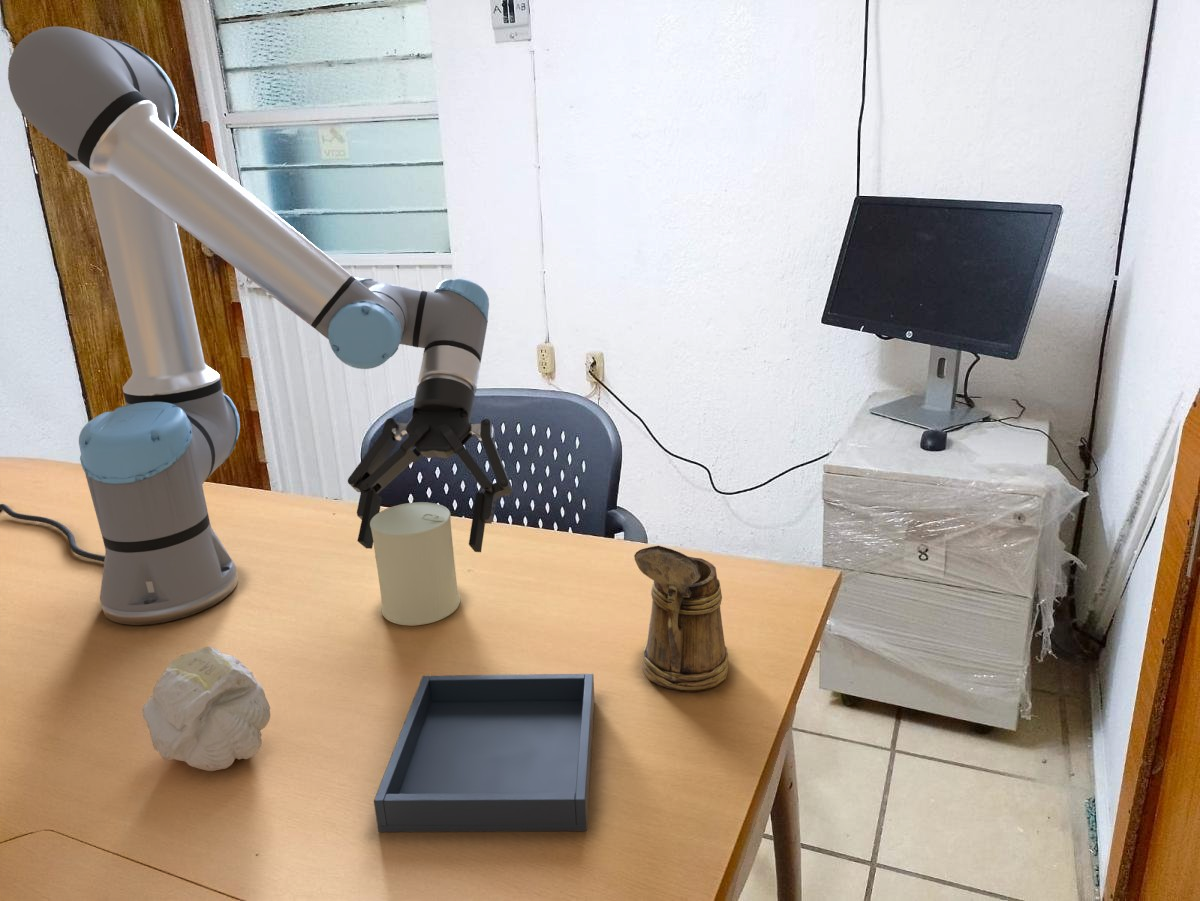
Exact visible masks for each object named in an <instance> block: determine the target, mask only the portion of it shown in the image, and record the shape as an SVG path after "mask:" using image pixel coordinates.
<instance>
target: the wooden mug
mask: <svg viewBox="0 0 1200 901" xmlns="http://www.w3.org/2000/svg"><path fill="white" fill-rule="evenodd" d="M633 557H634V561H635V564H636V566H637V567H638V569H639V572H641V573H642V574H643V575H645V576H646V577H648V578H649V579H650V580H652V587H651V594H650V595H651V599H652V602H651V610H650V611H651V613H650V618H649V626H648V634H647V642H646V644H645V646H644V647H643V656H642V670H643V673H644V675H645V677H647V679H648V680H649V681H651V682H653V683H655V684H656V685H658V686H661V687H663V688H665V689H668V690H672V691H673V690H674V691H678V692H682V693H683V692H685V693H686V692H687V693H688V692H689V693H691V692H692V693H693V692H694V693H695V692H701V691H702V692H703V691H706V690H710V689H713V688H716V687H717V686H718V685H720V684H721V683H722V682H723V681H725V680H726V679H727V676H728V672H729V653H728V647H727V646H726V642H725V635H724V628H723V619H722V613H721V604H722V601H723V594H722V589H721V582H720V579H719V578H718V575H717V567H716V566H715V565H714V564H713V563H711V562H709V561H708V560H705V559H704V558H701V557H693V556H688V555H686V554H684V553H683V552H680V551H677V550H674V549H672V548H668V547H666V546H661V545H655V546H654V545H653V546H650V547H644V548H640V549H639V550H637V551H636V552H635V553H634V556H633Z"/></svg>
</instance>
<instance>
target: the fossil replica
mask: <svg viewBox="0 0 1200 901" xmlns="http://www.w3.org/2000/svg"><path fill="white" fill-rule="evenodd" d="M141 710H142V717H143V720H144V721H145V723H146V725H147V728H148V731H149V735H150V740H151V744H152V747H153V749H154V750H155V751H156V752H157V753H159V755H160V756H161V757H162V759H164V760H165V761H168V760H169V761H171V760H176V761H180V762H181V761H182V762H184V763H186V764H187V765H188V766H190V767H192V768H196V769H197V770H203V771H207V772H209V771H210V772H215V771H220V770H225V769H228V768H229V767H230V766H232V765H233V763H234V762H235V760H236V759H237V760H241V759H243V760H248V759H250V758H252V757H253V756H255V755H256V754H257V753H258V752H259V751H260V749H261V746H262V735H263V734H262V733H261V731H262V730H263V729H265V728H266V727H267V725H268V724H269V722H270V719H271V706H270V704H269V701H268V699H267V696H266V692H265V690H264V688H263V685H262V684H260V683H259V681H258V680H257V679H256V678H255V677H254V673H253V672H252V671H251V670H250V669H249V668H248V667H247V666H246V665H245V664H244V663H243V662H242V661H240V660H239V658H237V657H235V656H234V655H230V654H226V653H223V652H221V651H220V650H219V649H218V648H215V647H213V646H205V647H203V648H198V649H194V651H191V652H187V653H185V654H182V655H180V656H178V657H177V658H175V659H174V660H172V661H171V662H170V663H169V664H168V666H167V668H166V669H165V670H164V671H163V673H162V674H161V676H160V677H159V678H158V680H157V681H156V684H155V686H154V687H153V689H152V695H151V696H150V697H149V699H148V700H147V702H146V703H145V704H144V705H142V708H141Z"/></svg>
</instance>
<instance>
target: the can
mask: <svg viewBox="0 0 1200 901" xmlns="http://www.w3.org/2000/svg"><path fill="white" fill-rule="evenodd" d="M451 515H452V514H451V511H450V510H449V508H447V507H446V506H444V505H442V504H439V503H434V502H428V501H427V502H426V501H425V502H424V501H419V502H408V503H407V502H406V503H402V504H401V503H400V504H398V505H393V506H391V507H387V508H385V509H383V510H380V511H379V513H378V514H376V515H375V516H374V517H373V518H372V519H371V521H370V527H371V531H372V536H373V548H374V555H375V562H376V569H377V576H378V583H379V591H380V597H381V614H382V616H383V618H385V620H387V621H388V622H390V623H393V624H396V625H399V626H411V627H412V626H413V627H414V626H415V627H416V626H423V625H428V624H432V623H435V622H438V621H441V620H444V619H445V618H447V617H449V616H451V615H452V614H453V613H455V612H456V611H457V609H458V608H459V605H460V603H461V596H460V593H459V590H458V580H457V573H456V562H455V554H454V546H453V544H454V543H453V532H452V523H451V517H452V516H451Z"/></svg>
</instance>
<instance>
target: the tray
mask: <svg viewBox="0 0 1200 901" xmlns="http://www.w3.org/2000/svg"><path fill="white" fill-rule="evenodd" d="M594 680H595V678H594V673H541V674H537V673H536V674H535V673H534V674H533V673H532V674H531V673H530V674H461V675H460V674H459V675H458V674H455V675H453V674H451V675H422V677H421V679H420V682H419V685H418V687H417V689H416V692H415V694H414V697H413V700H412V702H411V705H410V707H409V710H408V712H407V715H406V718H405V720H404V722H403V725H402V727H401V730H400V733H399V735H398V738H397V740H396V743H395V745H394V748H393V751H392V754H391V756H390V759H389V761H388V763H387V766H386V769H385V771H384V774H383V775H382V778H381V781H380V784H379V786H378V789H377V792H376V794H375V797H374V799H373V805H374V812H375V818H376V824H377V832H378V833H411V832H412V833H417V832H418V833H435V832H437V833H439V832H440V833H443V832H444V833H445V832H446V833H447V832H453V833H454V832H458V833H459V832H461V833H462V832H463V833H464V832H465V833H466V832H468V833H469V832H476V833H477V832H587V831H588V818H589V817H588V816H589V801H590V800H589V799H590V785H591V784H590V782H591V769H592V768H591V766H592V750H593V749H592V748H593V735H594V734H593V732H594V715H595V702H596V701H595V700H596V699H595V681H594Z"/></svg>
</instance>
